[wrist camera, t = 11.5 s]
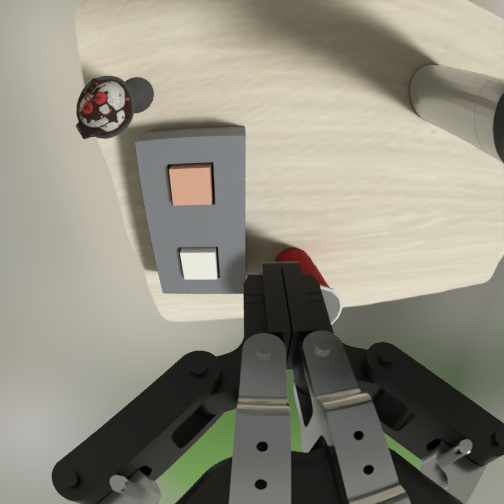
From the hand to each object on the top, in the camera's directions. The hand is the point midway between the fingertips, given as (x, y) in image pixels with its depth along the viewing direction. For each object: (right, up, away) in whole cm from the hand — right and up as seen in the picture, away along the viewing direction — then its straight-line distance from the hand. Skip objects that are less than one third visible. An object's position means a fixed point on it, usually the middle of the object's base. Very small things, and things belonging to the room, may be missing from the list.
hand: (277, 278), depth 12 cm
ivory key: (-9, +1, +32) cm, 33 cm away
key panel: (-9, +7, +30) cm, 32 cm away
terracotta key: (-8, +11, +25) cm, 29 cm away
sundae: (-16, +21, +20) cm, 33 cm away
